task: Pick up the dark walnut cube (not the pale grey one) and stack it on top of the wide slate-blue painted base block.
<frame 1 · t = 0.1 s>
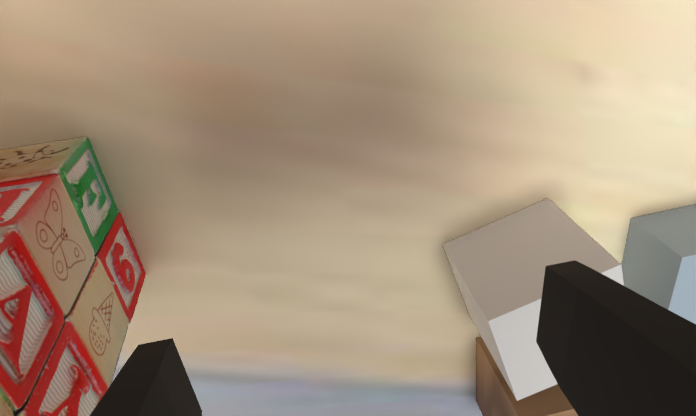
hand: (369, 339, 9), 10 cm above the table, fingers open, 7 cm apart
base block: (686, 264, 25), on the table
walnut cube: (519, 359, 26), on the table
grey cube: (506, 260, 22), on the table
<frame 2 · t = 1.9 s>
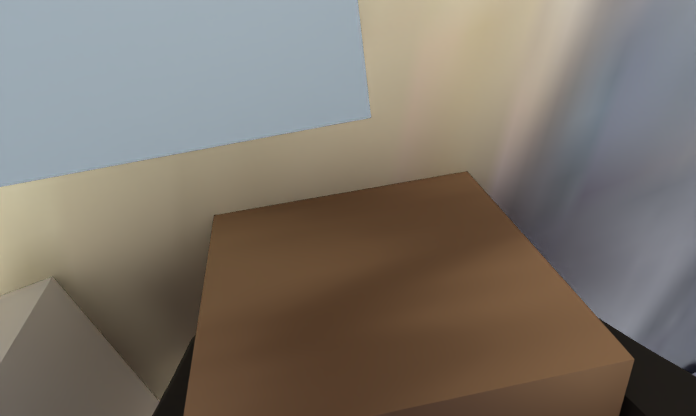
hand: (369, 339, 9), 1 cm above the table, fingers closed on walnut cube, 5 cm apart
walnut cube: (355, 289, 11), on the table, touching gripper
grey cube: (19, 395, 11), on the table
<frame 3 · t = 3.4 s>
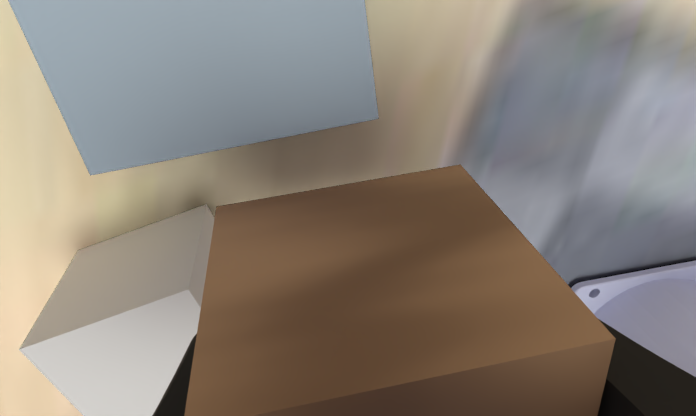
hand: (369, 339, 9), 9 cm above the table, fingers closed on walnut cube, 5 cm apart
walnut cube: (353, 281, 11), point 7 cm above the table, touching gripper
grey cube: (175, 276, 19), on the table
when the fingers open (6 cm above the table, at t = 4.7 s): walnut cube drops 1 cm, point 3 cm above the table.
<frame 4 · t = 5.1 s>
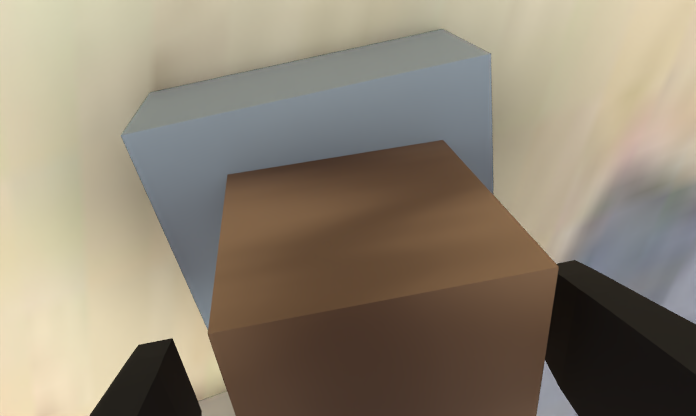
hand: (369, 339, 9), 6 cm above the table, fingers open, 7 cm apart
base block: (325, 184, 15), on the table
walnut cube: (348, 246, 12), point 3 cm above the table
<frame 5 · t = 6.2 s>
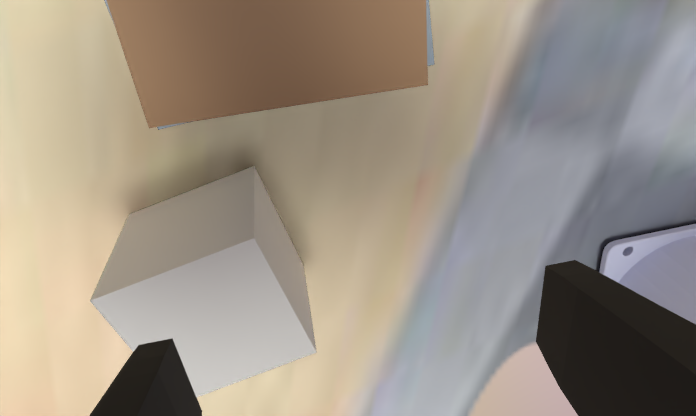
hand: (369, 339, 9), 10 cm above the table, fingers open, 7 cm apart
grey cube: (222, 240, 19), on the table
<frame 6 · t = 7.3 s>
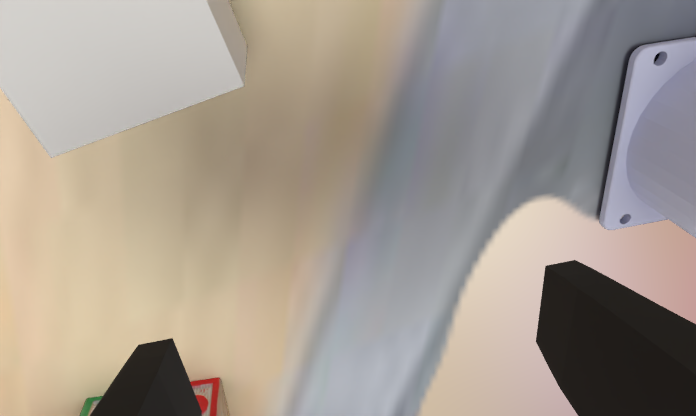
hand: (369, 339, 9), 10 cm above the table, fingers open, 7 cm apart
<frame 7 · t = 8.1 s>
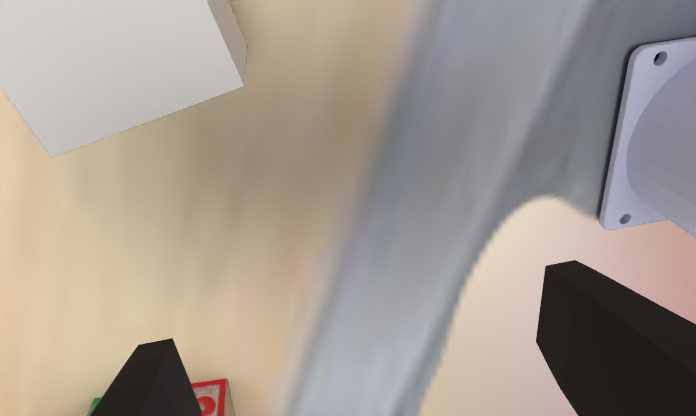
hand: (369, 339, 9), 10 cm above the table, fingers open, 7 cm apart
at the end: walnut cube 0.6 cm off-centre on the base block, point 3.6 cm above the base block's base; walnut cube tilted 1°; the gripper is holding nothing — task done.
